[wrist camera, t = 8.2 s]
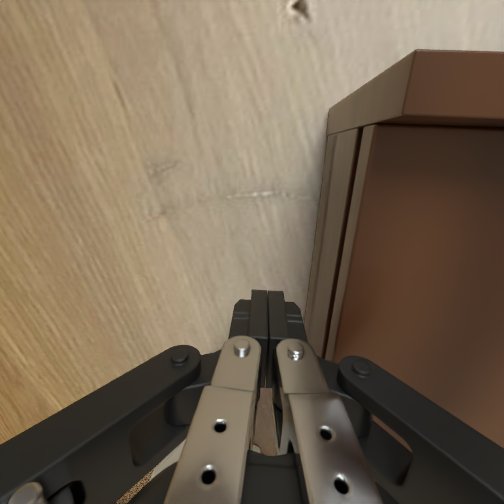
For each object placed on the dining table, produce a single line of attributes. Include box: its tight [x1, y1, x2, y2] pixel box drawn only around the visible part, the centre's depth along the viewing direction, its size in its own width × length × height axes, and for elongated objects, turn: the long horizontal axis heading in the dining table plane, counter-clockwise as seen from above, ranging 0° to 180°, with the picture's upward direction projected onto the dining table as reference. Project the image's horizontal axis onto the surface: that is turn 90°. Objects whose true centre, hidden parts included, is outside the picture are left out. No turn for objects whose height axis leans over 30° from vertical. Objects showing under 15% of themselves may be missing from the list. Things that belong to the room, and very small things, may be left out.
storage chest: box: [304, 49, 504, 481], centre depth 12 cm, size 8×18×8 cm, turn 178°
